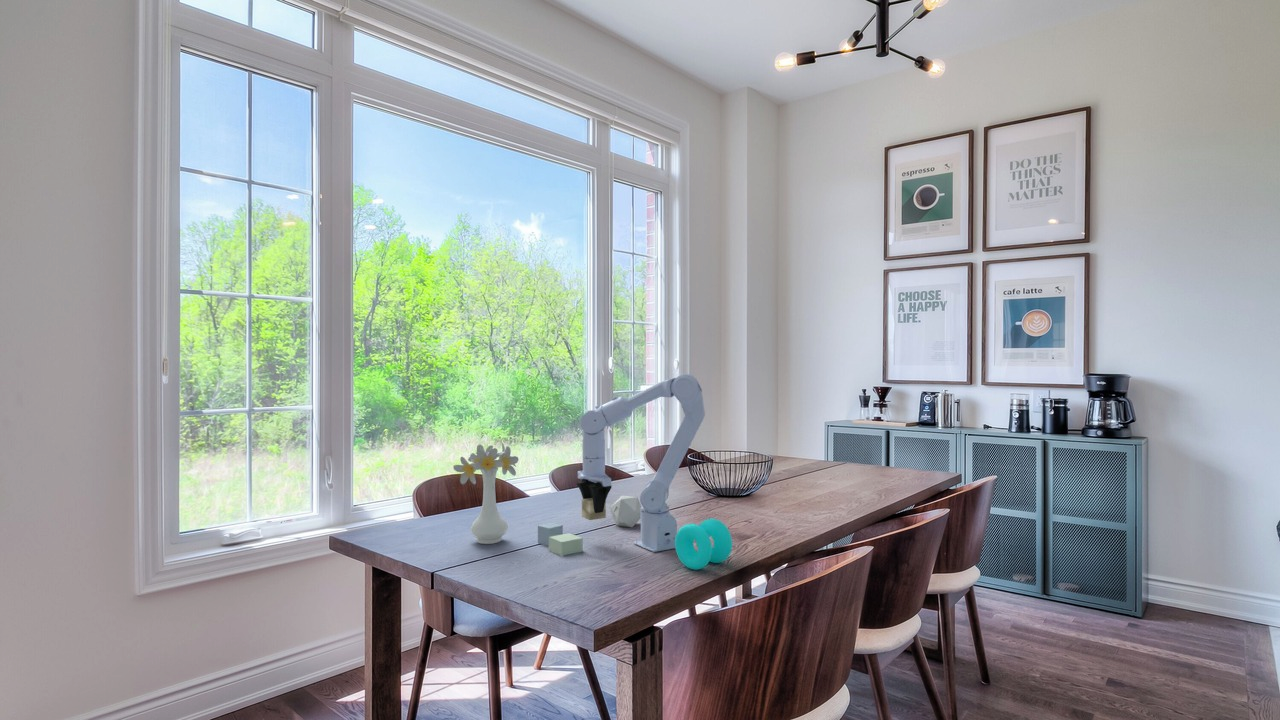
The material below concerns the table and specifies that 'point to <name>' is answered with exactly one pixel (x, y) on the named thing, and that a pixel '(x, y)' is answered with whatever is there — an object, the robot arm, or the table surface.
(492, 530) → the flower vase
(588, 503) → the beech cube
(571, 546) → the pale green block
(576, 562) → the table surface
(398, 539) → the table surface
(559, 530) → the slate cube
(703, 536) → the donuts
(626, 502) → the die
